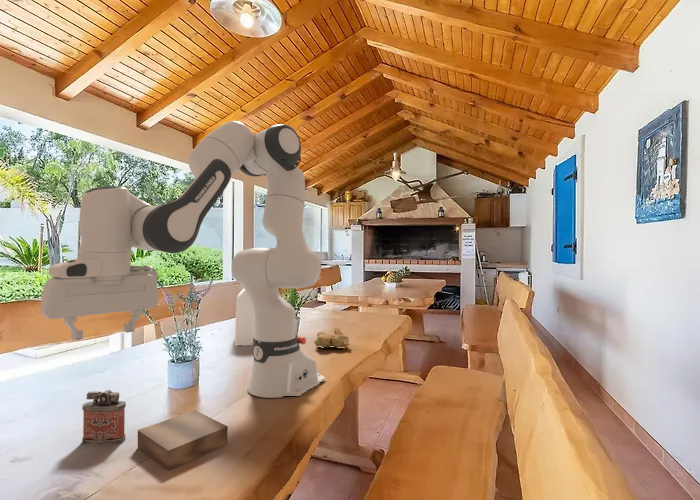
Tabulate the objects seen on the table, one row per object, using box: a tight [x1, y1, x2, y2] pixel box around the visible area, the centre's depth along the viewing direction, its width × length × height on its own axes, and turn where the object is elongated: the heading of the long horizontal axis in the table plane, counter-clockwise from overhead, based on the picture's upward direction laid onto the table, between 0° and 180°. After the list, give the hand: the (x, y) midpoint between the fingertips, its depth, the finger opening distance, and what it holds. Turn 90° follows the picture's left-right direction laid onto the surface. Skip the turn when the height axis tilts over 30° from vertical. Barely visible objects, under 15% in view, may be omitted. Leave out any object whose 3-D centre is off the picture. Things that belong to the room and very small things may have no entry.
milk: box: [234, 288, 255, 347], centre depth 161 cm, size 12×12×26 cm
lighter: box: [81, 389, 127, 446], centre depth 79 cm, size 8×3×10 cm, turn 92°
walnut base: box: [137, 410, 229, 471], centre depth 77 cm, size 12×12×4 cm
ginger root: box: [313, 327, 350, 348], centre depth 153 cm, size 16×16×8 cm
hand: (104, 335), depth 78 cm, fingers open, 8 cm apart
